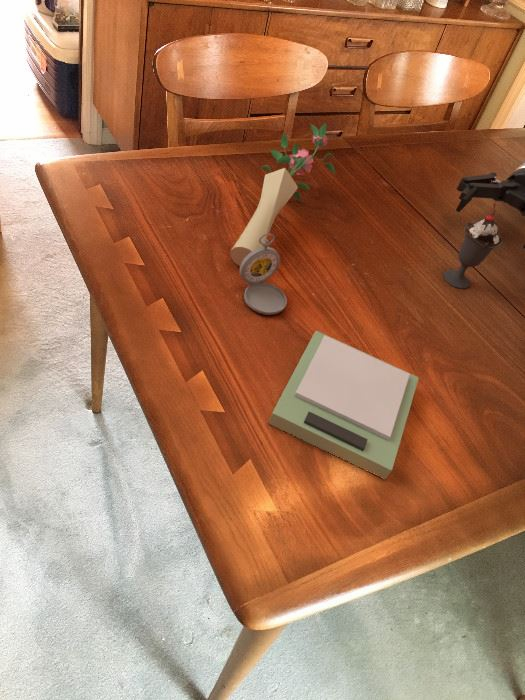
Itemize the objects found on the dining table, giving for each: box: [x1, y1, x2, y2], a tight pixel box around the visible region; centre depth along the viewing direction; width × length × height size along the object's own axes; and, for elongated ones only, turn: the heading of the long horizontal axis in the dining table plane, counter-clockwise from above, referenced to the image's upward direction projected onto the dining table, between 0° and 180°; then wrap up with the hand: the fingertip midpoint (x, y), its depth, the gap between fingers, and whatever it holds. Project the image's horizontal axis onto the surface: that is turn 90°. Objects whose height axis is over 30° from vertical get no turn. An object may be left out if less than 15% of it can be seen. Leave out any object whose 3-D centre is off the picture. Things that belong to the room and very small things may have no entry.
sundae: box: [443, 202, 503, 289], centre depth 95 cm, size 7×7×15 cm
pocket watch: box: [239, 233, 288, 316], centre depth 83 cm, size 8×8×10 cm
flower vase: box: [229, 122, 337, 267], centre depth 99 cm, size 12×12×35 cm
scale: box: [267, 330, 420, 480], centre depth 74 cm, size 16×17×3 cm
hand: (494, 223), depth 100 cm, fingers open, 13 cm apart
